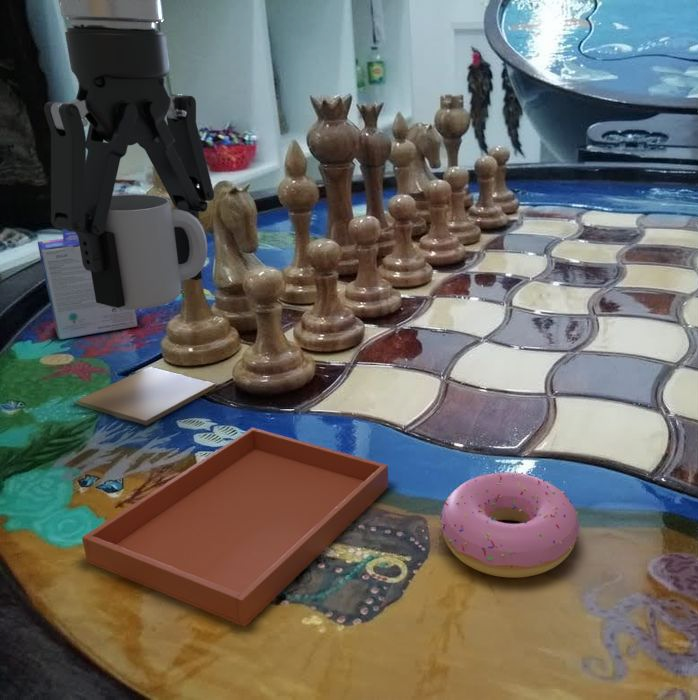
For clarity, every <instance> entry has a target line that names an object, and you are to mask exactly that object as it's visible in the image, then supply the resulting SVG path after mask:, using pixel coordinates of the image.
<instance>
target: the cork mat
mask: <svg viewBox="0 0 698 700" xmlns="http://www.w3.org/2000/svg"><path fill="white" fill-rule="evenodd" d="M216 388H217V387H216V383H215V382H210V381H207V380H204V379H203V380H202V379H200V378H195V377H191V376H188V375H184V374H179V373H176V372H171V371H167V370H164V369H160V368H156V367H152V366H148V367H146V368H144V369H142V370H139V371H137V372H135V373H133V374H131V375H129V376H126V377H124V378H122V379H120V380H117V381H116V382H113V383H111V384H109V385H107V386H105V387H103V388H100V389H97V390H95V391H93V392H92V393H89V394H87V395H85V396H83V397H80V398H78V399H76V404H77V406H80V407H82V408H86V409H89V410H93V411H96V412H100V413H103V414H107V415H110V416H113V417H116V418H120V419H124V420H127V421H129V422H133V423H137V424H139V425H143V426H145V427H146V426H149V425H151V424H152V423H154V422H156V421H158V420H160V419H161V418H163V417H166V416H167V415H169V414H171V413H173V412H174V411H176V410H178V409H180V408H182V407H184V406H186V405H188V404H189V403H191V402H193V401H195V400H197V399H198V398H200V397H202V396H204V395H206V394H207V393H210V392H211V391H214V390H215V389H216Z"/></svg>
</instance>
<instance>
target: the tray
mask: <svg viewBox="0 0 698 700" xmlns="http://www.w3.org/2000/svg"><path fill="white" fill-rule="evenodd" d="M388 488H389V465H388V464H386V463H382V462H377V461H374V460H371V459H367V458H363V457H359V456H356V455H353V454H350V453H346V452H342V451H338V450H335V449H331V448H328V447H325V446H320V445H317V444H313V443H310V442H307V441H303V440H299V439H295V438H292V437H288V436H284V435H283V434H282V435H280V434H278V433H275V432H270V431H266V430H265V429H260V428H256V427H250V428H249V429H248V430H246V431H245V432H243V433H241V434H240V435H238V436H237V437H235V438H233V439H232V440H231V441H229V442H228V443H226V444H224V445H223V446H221V447H219V448H218V449H216V450H215V451H213V452H212V453H210V454H208V455H207V456H205V457H204V458H203V459H201V460H199V461H198V462H196V463H195V464H193V465H191V466H190V467H189V468H187V469H186V470H184V471H182V472H181V473H179V474H178V475H176V476H174V477H173V478H171V479H170V480H168V481H167V482H166V483H164V484H162V485H160V486H159V487H158V488H156V489H155V490H153V491H151V492H150V493H148V494H147V495H145V496H144V497H141V499H139V500H137V501H136V502H134V503H132V504H131V505H130V506H128V507H127V508H125V509H123V510H122V511H119V513H118V514H116V515H114V516H113V517H111V518H110V519H108V520H106V521H105V522H103V523H102V524H100V525H99V526H97V527H96V528H94V529H92V530H91V531H90V532H88V533H86V534H85V535H83V536H82V537H81V539H82V544H83V549H84V554H85V558H86V563H87V564H90V565H93V566H96V567H97V568H100V569H103V570H104V571H107V572H110V573H113V574H115V575H117V576H120V577H122V578H125V579H127V580H129V581H132V582H134V583H137V584H138V585H141V586H144V587H146V588H149V589H151V590H154V591H156V592H159V593H161V594H163V595H165V596H168V597H170V598H173V599H175V600H178V601H181V602H183V603H186V604H188V605H190V606H193V607H195V608H197V609H199V610H203V611H205V612H207V613H209V614H212V615H214V616H216V617H219V618H222V619H224V620H227V621H229V622H231V623H234V624H237V625H239V626H242V627H244V628H246V627H247V626H249V624H250V623H251V622H253V620H254V619H255V618H257V616H258V615H259V614H260V613H262V611H264V610H265V609H266V608H267V607H268V605H269V604H271V603H272V602H273V600H275V599H276V597H278V596H279V595H280V594H281V593H282V592H283V591H284V590H285V589H286V588H287V587H288V586H289V585H290V584H291V583H292V582H293V581H294V580H296V578H297V577H298V576H299V575H301V573H302V572H304V570H306V568H307V567H309V565H310V564H312V562H313V561H315V560H316V558H318V557H319V556H320V555H321V554H322V553H323V552H324V551H325V550H326V549H327V548H328V547H329V546H331V544H332V543H333V542H334V541H335V540H336V539H337V538H338V537H339V536H340V535H341V534H342V533H343V532H344V531H345V530H346V529H347V528H348V527H349V526H351V524H352V523H353V522H354V521H356V520H357V518H358V517H360V515H362V514H363V513H364V511H366V510H367V508H369V507H370V506H371V505H372V504H373V503H374V502H375V501H376V500H377V499H378V498H379V497H380V496H381V495H382V494H383V493H384V492H385V491H386V490H387V489H388Z"/></svg>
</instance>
